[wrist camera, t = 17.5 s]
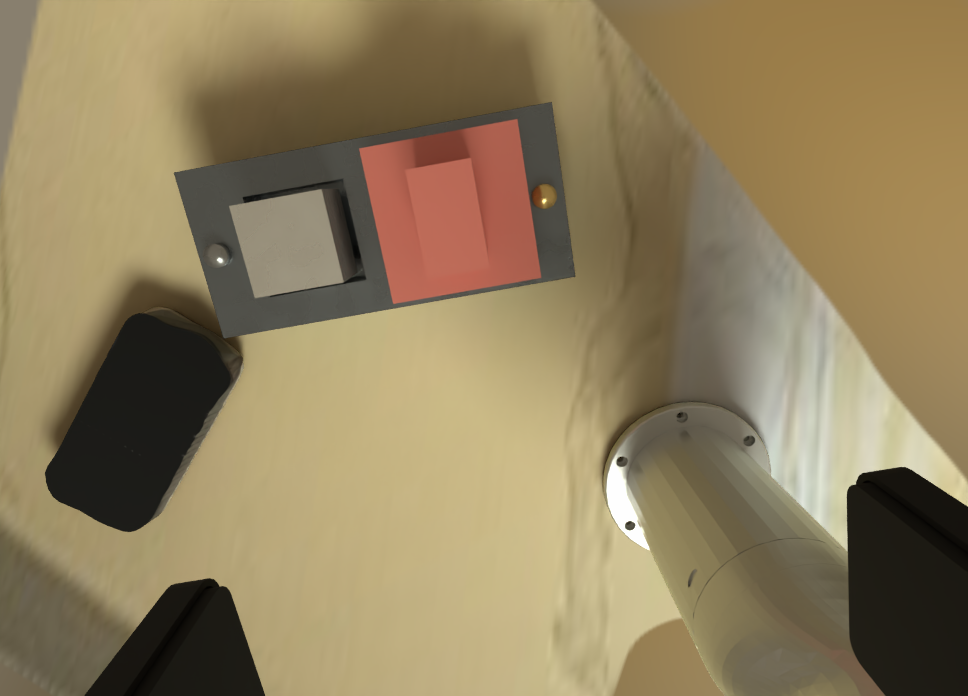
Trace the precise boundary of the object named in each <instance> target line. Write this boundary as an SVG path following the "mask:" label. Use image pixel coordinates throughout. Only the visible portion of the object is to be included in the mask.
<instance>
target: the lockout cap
mask: <svg viewBox="0 0 968 696" xmlns="http://www.w3.org/2000/svg"><path fill="white" fill-rule="evenodd" d="M359 151H360V155H361V160H362V164H363V169H364V173H365V178H366V182H367V187H368V191H369V196H370V201H371V205H372V210H373V214H374V219H375V223H376V228H377V232H378V237H379V241H380V246H381V251H382V255H383V260H384V264H385V269H386V273H387V278H388V282H389V287H390V291H391V296H392V301H393V304H396V303H402V302H407V301H413V300H419V299H424V298H430V297H436V296H441V295H447V294H453V293H458V292H464V291H470V290H475V289H481V288H487V287H492V286H498V285H504V284H509V283H515V282H521V281H526V280H532V279H538V278H541V272H540V265H539V259H538V252H537V246H536V239H535V232H534V226H533V219H532V213H531V206H530V200H529V193H528V186H527V180H526V173H525V167H524V160H523V153H522V147H521V140H520V134H519V127H518V120H517V119H515V120H509V121H504V122H499V123H493V124H488V125H483V126H477V127H472V128H466V129H461V130H456V131H450V132H445V133H440V134H434V135H429V136H424V137H418V138H413V139H407V140H402V141H397V142H391V143H386V144H381V145H375V146H370V147H365V148H359Z"/></svg>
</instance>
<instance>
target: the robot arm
mask: <svg viewBox="0 0 968 696" xmlns="http://www.w3.org/2000/svg"><path fill="white" fill-rule="evenodd" d="M680 412H681V414H680V415H679V416H677V414H678V413H680ZM746 436H747V437H746ZM745 437H746V438H745ZM621 456H622V458H621V459H618V458H619V457H621ZM603 489H604V495H605V499H606V503H607V506H608V509H609V511H610V513H611V516H612V518H613V519H614V521H615V523H616V524H617V526H618V527H619V529H620V530H621V531H622V532H623V533H624V534H625V535H626V536H627V537H628V538H629V539H631V540H632V541H634V542H635V543H637V544H638V545H640V546H641V547H644V548H646V549H648V550H650V551H651V553H652V555H653V557H654V559H655V562H656V564H657V566H658V568H659V570H660V572H661V574H662V576H663V578H664V580H665V583H666V585H667V587H668V589H669V591H670V593H671V595H672V597H673V599H674V602H675V604H676V606H677V608H678V610H679V612H680V614H681V616H682V618H683V621H684V623H685V625H686V627H687V629H688V631H689V633H690V635H691V637H692V639H693V641H694V644H695V646H696V647H697V649H698V652H699V654H700V656H701V658H702V660H703V662H704V664H705V666H706V668H707V670H708V672H709V674H710V675H711V677H712V679H713V680H714V682H715V684H716V685H717V686H718V688H719V689H720V690H721V691H722V693H723V694H724V695H725V696H968V507H967V506H966V505H964V504H963V503H961V502H960V501H958V500H957V499H955V498H954V497H952V496H951V495H949V494H947V493H946V492H944V491H943V490H941V489H940V488H938V487H937V486H935V485H934V484H932V483H931V482H929V481H928V480H926V479H924V478H923V477H921V476H920V475H918V474H917V473H915V472H914V471H912V470H910V469H908V468H906V467H898V468H892V469H885V470H879V471H873V472H867V473H862V474H861V475H859V477H858V479H857V481H856V485H852V486H850V487H849V489H848V491H847V533H848V552H847V551H846V550H845V549H844V548H843V547H842V546H841V545H840V544H839V543H838V542H837V541H836V540H835V539H834V538H833V537H832V536H831V535H830V534H829V533H828V532H827V531H826V530H825V529H824V528H823V527H822V526H821V525H820V524H819V523H818V522H817V521H816V520H815V519H814V518H813V517H812V516H811V515H810V514H809V513H808V512H807V511H806V510H805V509H804V508H803V507H802V506H801V505H800V504H799V503H798V502H797V501H796V500H795V499H794V498H793V497H792V496H791V495H790V494H789V493H788V492H787V491H785V490H784V489H783V488H782V487H781V486H780V485H779V484H778V483H777V482H776V481H775V480H774V479H773V478H772V477H771V467H770V461H769V455H768V453H767V450H766V448H765V446H764V443H763V442H762V440H761V439H760V437H759V436H758V434H757V433H756V431H755V430H754V429H753V428H752V427H751V426H749V425H748V424H747V423H746V422H745V421H744V420H743V419H741V418H740V417H739V416H737V415H736V414H735V413H733V412H731V411H729V410H727V409H724V408H722V407H720V406H716V405H712V404H708V403H700V402H684V403H676V404H671V405H668V406H664V407H661V408H658V409H656V410H654V411H652V412H650V413H648V414H646V415H644V416H642V417H641V418H640V419H638V420H637V421H636V422H634V423H633V424H632V425H630V426H629V427H628V428H627V429H626V431H625V432H624V433H623V434H622V435H621V436H620V437H619V438H618V440H617V442H616V443H615V445H614V446H613V448H612V449H611V452H610V454H609V457H608V459H607V462H606V465H605V470H604V476H603ZM627 521H628V522H627ZM84 696H265V694H264V691H263V688H262V685H261V682H260V679H259V676H258V673H257V670H256V667H255V664H254V661H253V658H252V655H251V652H250V649H249V646H248V643H247V640H246V637H245V634H244V631H243V628H242V625H241V622H240V619H239V616H238V613H237V610H236V607H235V604H234V602H233V599H232V596H231V593H230V591H229V590H228V589H227V587H224V586H221V587H219V585H218V583H217V582H216V581H215V580H214V579H210V578H209V579H203V580H196V581H190V582H184V583H178V584H174V585H171V586H170V587H169V588H168V589H167V590H166V591H165V592H164V593H163V595H162V596H161V597H160V598H159V600H158V601H157V602H156V604H155V605H154V606H153V608H152V609H151V610H150V611H149V613H148V614H147V615H146V617H145V618H144V619H143V620H142V622H141V623H140V624H139V626H138V627H137V628H136V630H135V631H134V632H133V633H132V635H131V636H130V637H129V639H128V640H127V641H126V642H125V644H124V645H123V646H122V648H121V649H120V650H119V652H118V653H117V654H116V655H115V657H114V658H113V659H112V661H111V662H110V663H109V664H108V666H107V667H106V668H105V670H104V671H103V672H102V674H101V675H100V676H99V677H98V679H97V680H96V681H95V683H94V684H93V685H92V686H91V688H90V689H89V690H88V692H87V693H86V694H85V695H84Z"/></svg>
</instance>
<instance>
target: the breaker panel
mask: <svg viewBox="0 0 968 696" xmlns="http://www.w3.org/2000/svg"><path fill="white" fill-rule="evenodd" d="M515 119H517V120H518V127H519V134H520V140H521V147H522V153H523V160H524V167H525V173H526V180H527V186H528V193H529V200H530V206H531V213H532V219H533V226H534V232H535V239H536V246H537V252H538V259H539V265H540V272H541V278H538V279H532V280H526V281H521V282H515V283H509V284H504V285H498V286H492V287H487V288H481V289H475V290H470V291H464V292H458V293H453V294H447V295H441V296H436V297H430V298H424V299H419V300H413V301H407V302H402V303H396V304H393V301H392V296H391V291H390V287H389V282H388V278H387V273H386V269H385V264H384V260H383V255H382V251H381V246H380V241H379V237H378V232H377V228H376V223H375V219H374V214H373V210H372V205H371V201H370V196H369V191H368V187H367V182H366V178H365V173H364V169H363V164H362V160H361V155H360V151H359V148H365V147H370V146H375V145H381V144H386V143H391V142H397V141H402V140H407V139H413V138H418V137H424V136H429V135H434V134H440V133H445V132H450V131H456V130H461V129H466V128H472V127H477V126H483V125H488V124H493V123H499V122H504V121H509V120H515ZM174 175H175V178H176V182H177V185H178V188H179V192H180V195H181V198H182V202H183V205H184V208H185V211H186V215H187V218H188V221H189V225H190V228H191V231H192V235H193V238H194V241H195V245H196V248H197V251H198V255H199V258H200V261H201V265H202V268H203V271H204V275H205V278H206V281H207V285H208V288H209V291H210V295H211V298H212V301H213V305H214V308H215V311H216V315H217V318H218V321H219V325H220V328H221V331H222V335H223V338H229V337H234V336H240V335H246V334H252V333H257V332H263V331H269V330H274V329H280V328H286V327H291V326H297V325H303V324H308V323H314V322H320V321H325V320H331V319H337V318H343V317H348V316H354V315H360V314H365V313H371V312H377V311H382V310H388V309H394V308H399V307H405V306H411V305H417V304H422V303H428V302H434V301H439V300H445V299H451V298H456V297H462V296H468V295H473V294H479V293H485V292H490V291H496V290H502V289H508V288H513V287H519V286H525V285H530V284H536V283H542V282H547V281H553V280H559V279H564V278H570V277H575V270H574V262H573V255H572V248H571V240H570V233H569V226H568V218H567V211H566V203H565V196H564V189H563V181H562V174H561V167H560V159H559V152H558V145H557V137H556V130H555V123H554V115H553V108H552V102H550V103H544V104H539V105H534V106H528V107H523V108H518V109H512V110H507V111H501V112H496V113H491V114H485V115H480V116H475V117H469V118H464V119H459V120H453V121H448V122H443V123H437V124H432V125H426V126H421V127H416V128H410V129H405V130H400V131H394V132H389V133H384V134H378V135H373V136H367V137H362V138H357V139H351V140H346V141H341V142H335V143H330V144H325V145H319V146H314V147H309V148H303V149H298V150H292V151H287V152H282V153H276V154H271V155H266V156H260V157H255V158H250V159H244V160H239V161H233V162H228V163H223V164H217V165H212V166H207V167H201V168H196V169H191V170H185V171H180V172H175V173H174Z"/></svg>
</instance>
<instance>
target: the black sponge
mask: <svg viewBox="0 0 968 696" xmlns="http://www.w3.org/2000/svg"><path fill="white" fill-rule="evenodd" d="M243 369H244V364H243V358H242V356H241V355H240V354H239V352H238V351H237V350H236V349H235V348H233V347H232V346H231V345H229V344H228V343H227V342H226V341H224V340H223V339H222V338H220V337H219V336H218V335H216V334H215V333H213V332H211V331H210V330H208V329H206V328H204V327H202V326H200V325H198V324H196V323H194V322H192V321H190V320H189V319H187V318H186V317H184V316H183V315H181V314H179V313H177V312H176V311H174V310H172V309H168V308H163V307H154V308H151V309H149V310H147V311H145V312H143V313H139V314H135V315H133V316H131V317H130V318H129V319H128V320H127V321H126V322H125V324H124V325H123V327H122V329H121V331H120V333H119V334H118V336H117V338H116V340H115V342H114V344H113V345H112V347H111V349H110V351H109V353H108V355H107V357H106V359H105V361H104V363H103V364H102V366H101V368H100V370H99V372H98V374H97V376H96V378H95V380H94V382H93V384H92V386H91V388H90V390H89V392H88V394H87V395H86V397H85V399H84V401H83V403H82V405H81V407H80V409H79V411H78V413H77V415H76V417H75V419H74V421H73V423H72V425H71V427H70V428H69V430H68V432H67V434H66V436H65V438H64V440H63V442H62V444H61V446H60V448H59V449H58V451H57V453H56V454H55V456H54V458H53V459H52V461H51V462H50V463H49V465H48V467H47V469H46V472H45V477H46V483H47V486H48V489H49V491H50V493H51V494H52V496H53V497H54V498H55V499H56V500H58V501H59V502H61V503H63V504H66V505H68V506H70V507H73V508H75V509H77V510H80V511H82V512H83V513H85V514H87V515H88V516H90V517H92V518H93V519H95V520H97V521H98V522H101V523H103V524H105V525H107V526H110V527H113V528H115V529H118V530H121V531H125V532H132V531H136V530H138V529H140V528H141V527H143V526H144V525H146V524H147V523H148V522H150V521H151V520H153V519H154V518H156V517H157V516H159V514H160V513H161V512H162V511H163V510H164V509H165V508H166V506H167V504H168V503H169V501H170V499H171V498H172V496H173V494H174V492H175V490H176V489H177V488H178V486H179V484H180V482H181V480H182V479H183V477H184V475H185V474H186V472H187V470H188V468H189V466H190V464H191V463H192V461H193V459H194V457H195V455H196V454H197V452H198V450H199V448H200V447H201V444H202V443H203V441H204V440H205V438H206V436H207V434H208V433H209V432H210V430H211V428H212V426H213V424H214V422H215V420H216V419H217V417H218V415H219V413H220V412H221V410H222V408H223V407H224V405H225V403H226V400H227V399H228V397H229V395H230V394H231V392H232V390H233V388H234V387H235V385H236V383H237V382H238V380H239V378H240V376H241V374H242V371H243Z"/></svg>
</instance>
